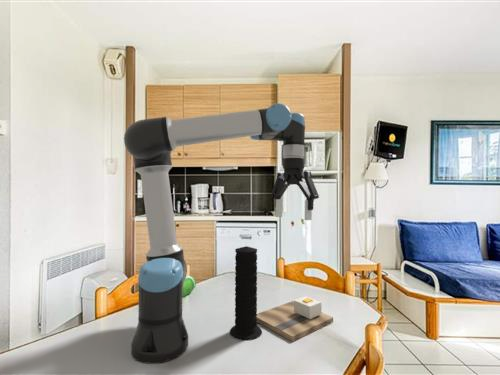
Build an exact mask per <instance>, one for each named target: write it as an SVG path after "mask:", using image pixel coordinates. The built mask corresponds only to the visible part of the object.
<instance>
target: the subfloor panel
mask: <svg viewBox="0 0 500 375" xmlns="http://www.w3.org/2000/svg"><path fill="white" fill-rule="evenodd" d="M256 314H257V317H256V318H257V324H259V325H261V326H263V327H265V328H267V329H269V330H271V331H272V332H274V333H276V334H278V335H280V336H281V337H284V338H285V339H287V340H289V341H290V342H294V341H297V340H299V339H301V338H304V337H305V336H307V335H310V334H312V333H313V332H315V331H317V330H319V329H322V328H324V327H326V326H327V325H329V324H332V323H334V317H333V316H331V315H328V314H326V313H323V311H321V315H318V316H316V317H314V318H311V319H309V318H307V317H304V316H302V315H300V314H298V313H295V312H294V300H292V301H289V302H287V303H284V304H280V305H278V306H275V307H272V308H270V309H267V310H265V311H264V310H263V311H261V312H259V313H256Z"/></svg>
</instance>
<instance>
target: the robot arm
mask: <svg viewBox="0 0 500 375" xmlns="http://www.w3.org/2000/svg"><path fill="white" fill-rule="evenodd" d="M305 121H306V120H305V116H304V114H302V113H298V112H291V110H290V108H289V107H288V106H287V105H286V104H283V103H274V104H272V105H270V106H269V107H267V108H261V109H254V110H252V109H251V110H245V111H243V110H242V111H235V112H228V113H220V114H212V115H211V114H210V115H203V116H202V115H201V116H195V117H193V116H192V117H186V118H185V117H184V118H177V119H171V118H170V117H169V116H163V117H162V116H161V117H155V118H154V117H153V118H146V119H140V120H137V121H135V122H133V123H131V124H130V125H129V126H128V128H126V130H125V133H124V137H123V140H124V146H125V148H126V150H127V152H128V153H129V154H130V155H131V156H132V157H133V165H134V171H135V172H136V173H138V174H139V175H140V178H141V187H142V194H143V203H144V210H145V217H146V226H147V233H148V239H149V241H148V242H149V250H148V251H147V253H146V254H145V256H146V257H145V258H146V262H144V263H143V264H142V265H141V266H140V268H139V272H138V277H137V281H138V282H137V283H138V322H137V325H136V329H135V331H134V334H133V337H132V340H131V344H130V354H131V357H132V358H133V359H134V360H135V361H137V362H141V363H145V364H158V363H159V364H160V363H164V362H168V361H171V360H173V359H175V358H177V357H179V356H181V355H182V354H184V352H185V351H186V350H187V349H188V346H189V334H188V330H187V326H186V324H185V321H184V318H183V298H182V291H183V284H184V280H185V278H186V276H188V275H187V274H188V265H187V263H186V261H185V254H184V248H183V246H181V245H180V244H179V243H178V237H177V230H176V222H175V217H174V216H175V214H174V207H173V199H172V198H173V197H172V193H171V185H170V184H171V183H170V177H169V172H170V170H171V169H172V168H173V163H172V156H171V154H172V152H174V151H175V150H176V148H178V147H183V146H191V145H199V144H203V143H212V142H219V141H226V140H227V141H228V140H232V139H240V138H246V137H250V140H255V141H260V142H261V141H273V142H275V141H276V142H277V141H278V142H282V143H283V144H282V157H283V159H282V169H283V172H279V171H278V172H277V174H276V179H275V183H274V185H273V188H272V190H271V194H270V197H271V198H273V199H274V208H275V218H283V198H282V197H283V195H284V194H285V192H286V190H287V189H288V188H289V186H291V185H297V187H298V188H299V189H300V190H301V193H302V194H303V196H304V197H305V200H304V221H312V219H313V218H312V214H313V212H312V211H313V210H314V202H315V200H316V199H317V200H318V199H319V198H320V195H319V193H318V191H317V188H316V186H315V183H314V181H313V178H312V172H311V171H309V170H304V169H305V159H304V158H305V135H306V122H305ZM303 178H304V179H303Z"/></svg>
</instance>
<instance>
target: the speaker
mask: <svg viewBox="0 0 500 375" xmlns="http://www.w3.org/2000/svg"><path fill="white" fill-rule="evenodd" d="M196 286H197V283H196V280H195V278H194V277H193V275H186V278H185V280H184V284H183V291H182V299H183V298H184V297H186V296H188V295H189V294H191V293H192V292H193V291H194V289H195V288H196Z"/></svg>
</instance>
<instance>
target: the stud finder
mask: <svg viewBox="0 0 500 375" xmlns="http://www.w3.org/2000/svg"><path fill="white" fill-rule="evenodd" d="M293 301H294V312H295V313H298V314H300V315H302V316H304V317H307V318H309V319H311V318H314V317H316V316H318V315H321V312H322V301H319V300H316V299H314V298H311V297H308V296H306V295H305V296H302V297H299V298H296V299H294V300H293Z"/></svg>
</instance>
